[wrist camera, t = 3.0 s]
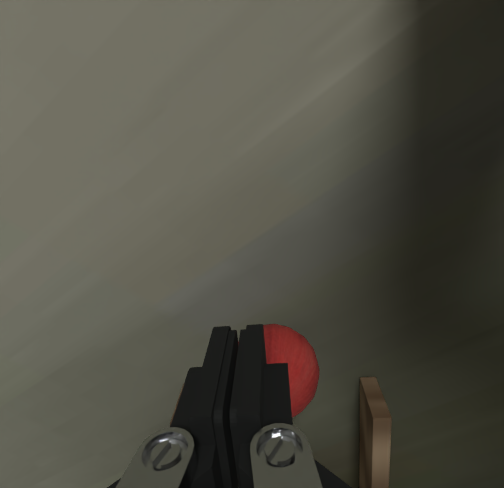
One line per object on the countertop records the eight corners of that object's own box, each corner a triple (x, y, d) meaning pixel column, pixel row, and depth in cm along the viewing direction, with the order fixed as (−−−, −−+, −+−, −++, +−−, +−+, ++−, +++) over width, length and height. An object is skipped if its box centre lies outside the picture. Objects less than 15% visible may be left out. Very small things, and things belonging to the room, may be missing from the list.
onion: (264, 380, 28) (261, 475, 21) (219, 328, 27) (198, 410, 20) (327, 345, 27) (347, 433, 19) (283, 288, 26) (286, 360, 18)
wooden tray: (183, 383, 29) (169, 423, 25) (375, 376, 28) (391, 417, 24) (207, 509, 34) (199, 558, 30) (372, 508, 32) (385, 559, 29)
